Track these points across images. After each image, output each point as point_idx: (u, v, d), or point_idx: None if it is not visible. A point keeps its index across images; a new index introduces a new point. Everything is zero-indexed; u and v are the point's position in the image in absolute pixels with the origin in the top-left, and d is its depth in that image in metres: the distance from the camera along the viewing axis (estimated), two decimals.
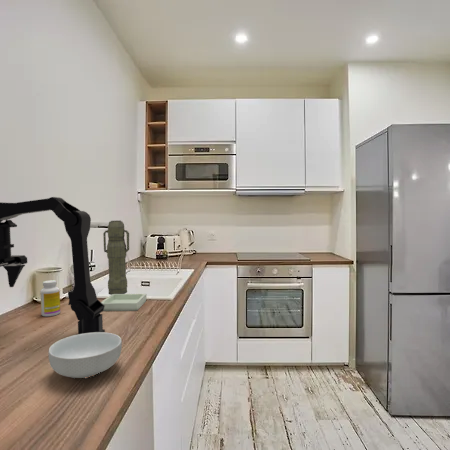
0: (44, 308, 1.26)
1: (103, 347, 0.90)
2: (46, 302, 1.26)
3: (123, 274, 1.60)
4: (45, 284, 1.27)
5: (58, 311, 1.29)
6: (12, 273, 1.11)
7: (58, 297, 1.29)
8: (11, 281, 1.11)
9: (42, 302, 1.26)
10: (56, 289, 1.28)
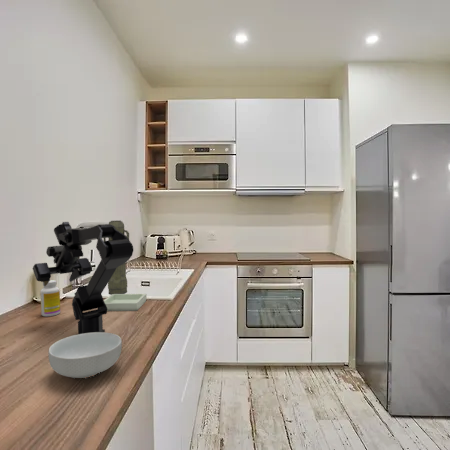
0: (44, 308, 1.26)
1: (103, 347, 0.90)
2: (46, 302, 1.26)
3: (123, 274, 1.60)
4: None
5: (58, 311, 1.29)
6: (74, 274, 1.25)
7: (58, 297, 1.29)
8: (71, 277, 1.26)
9: (42, 302, 1.26)
10: (56, 289, 1.28)
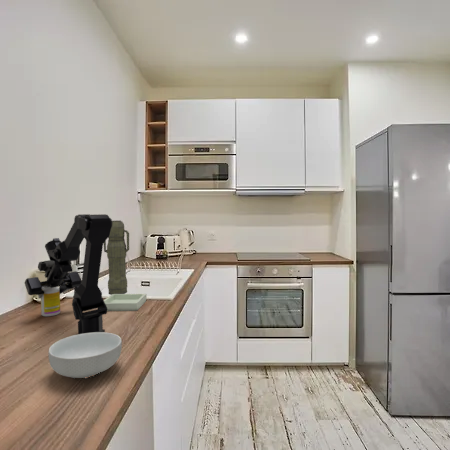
0: (44, 308, 1.26)
1: (103, 347, 0.90)
2: (46, 302, 1.26)
3: (123, 274, 1.60)
4: None
5: (58, 311, 1.29)
6: (62, 287, 1.30)
7: (58, 297, 1.29)
8: None
9: (42, 302, 1.26)
10: (56, 289, 1.28)
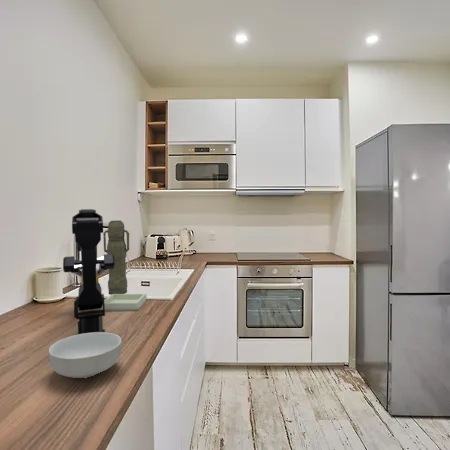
0: None
1: (103, 347, 0.90)
2: None
3: (123, 274, 1.60)
4: None
5: None
6: (99, 268, 1.36)
7: None
8: (98, 271, 1.38)
9: (81, 280, 1.35)
10: None
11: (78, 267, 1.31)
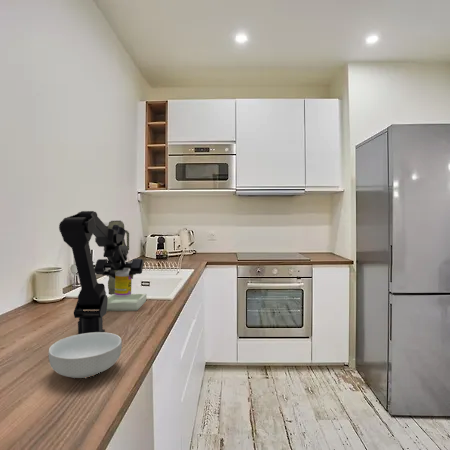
0: None
1: (103, 347, 0.90)
2: (115, 283, 1.37)
3: None
4: None
5: (124, 294, 1.37)
6: None
7: (126, 281, 1.37)
8: None
9: (115, 283, 1.39)
10: (124, 273, 1.37)
11: (109, 270, 1.35)
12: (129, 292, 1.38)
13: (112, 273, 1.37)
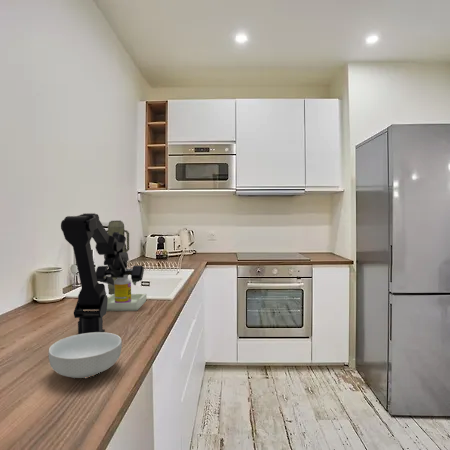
0: None
1: (103, 347, 0.90)
2: (115, 292, 1.37)
3: None
4: None
5: (125, 302, 1.37)
6: None
7: (125, 289, 1.37)
8: None
9: None
10: (123, 281, 1.37)
11: (107, 277, 1.35)
12: (129, 300, 1.38)
13: (110, 280, 1.37)
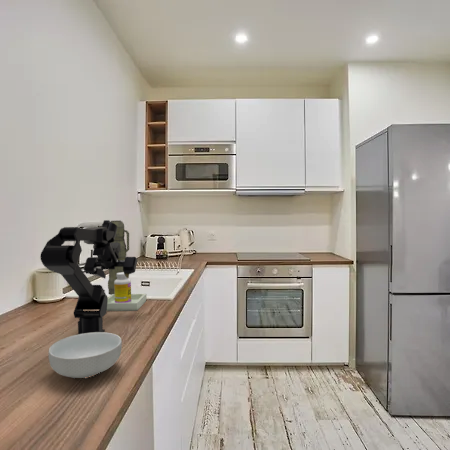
0: None
1: (103, 347, 0.90)
2: (115, 292, 1.37)
3: None
4: None
5: (125, 302, 1.37)
6: None
7: (125, 289, 1.37)
8: None
9: None
10: (123, 281, 1.37)
11: (97, 269, 1.26)
12: (129, 300, 1.38)
13: (100, 272, 1.28)
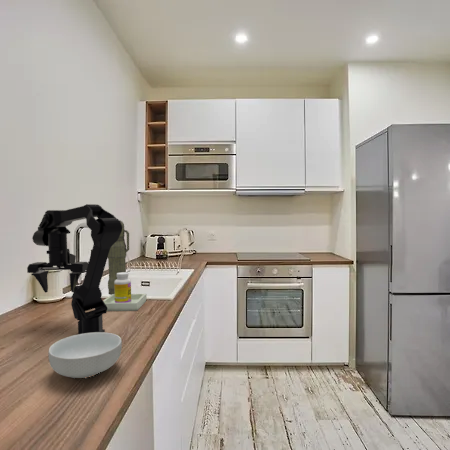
0: None
1: (103, 347, 0.90)
2: (115, 292, 1.37)
3: None
4: None
5: (125, 302, 1.37)
6: None
7: (125, 289, 1.37)
8: None
9: None
10: (123, 281, 1.37)
11: (42, 272, 1.13)
12: (129, 300, 1.38)
13: (44, 279, 1.14)
